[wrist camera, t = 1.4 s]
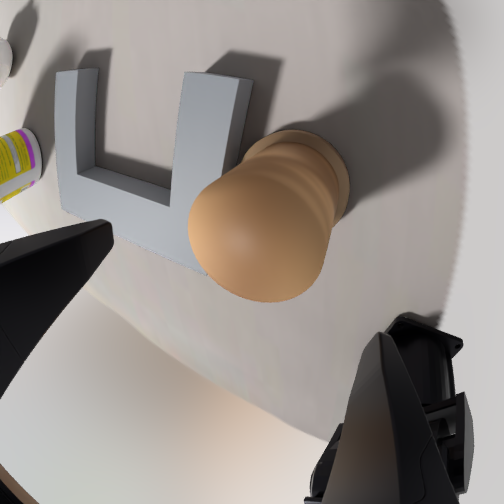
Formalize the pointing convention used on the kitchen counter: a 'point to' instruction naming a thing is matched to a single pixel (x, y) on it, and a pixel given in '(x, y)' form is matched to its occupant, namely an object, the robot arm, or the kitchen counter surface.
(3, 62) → the white rounded piece
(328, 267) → the kitchen counter surface
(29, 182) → the supplement bottle
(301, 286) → the wooden drawer knob
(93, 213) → the notched board
